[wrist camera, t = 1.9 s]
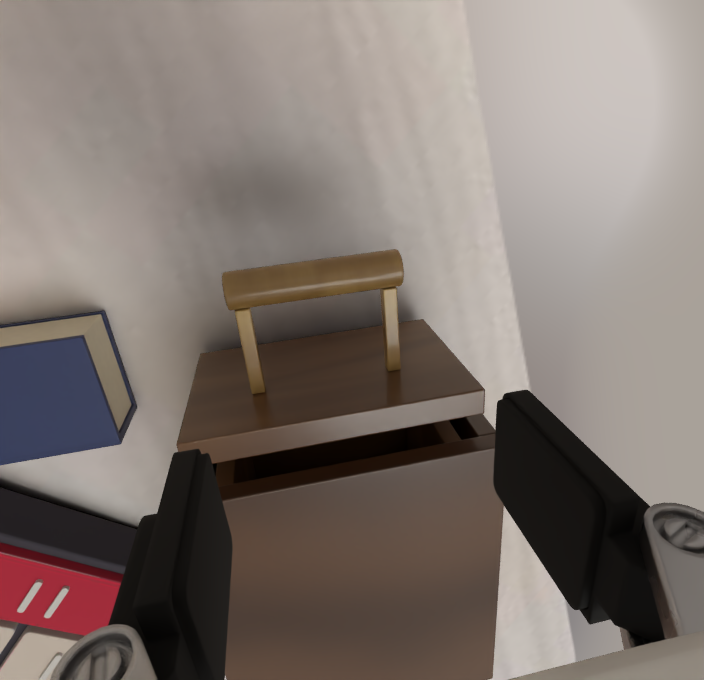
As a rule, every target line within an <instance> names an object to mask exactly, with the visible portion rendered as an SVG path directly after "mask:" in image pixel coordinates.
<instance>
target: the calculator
mask: <svg viewBox="0 0 704 680" xmlns="http://www.w3.org/2000/svg"><path fill="white" fill-rule="evenodd" d="M136 533H137V529H134V528H130V527H127V526H124V525H121V524H117V523H114V522H111V521H107V520H104V519H101V518H98V517H94V516H91V515H88V514H85V513H81V512H78V511H75V510H72V509H68V508H65V507H62V506H58V505H55V504H52V503H49V502H45V501H42V500H39V499H36V498H32V497H29V496H26V495H22V494H19V493H16V492H13V491H10V490H6V489H3V488H0V680H50V678H51V675H52V673H53V670H54V669H55V667H56V666H57V664H58V662H59V661H60V659H61V658H62V656H63V655H64V654H65V653H66V652H67V651H68V650H69V649H70V648H71V647H72V646H73V645H74V644H75V643H76V642H78V641H79V640H80V639H82V638H83V637H84V636H86V635H87V634H89V633H91V632H93V631H95V630H97V629H99V628H101V627H105V626H108V624H109V621H110V617H111V614H112V611H113V608H114V604H115V601H116V598H117V595H118V591H119V588H120V585H121V582H122V578H123V575H124V572H125V568H126V565H127V562H128V559H129V555H130V552H131V549H132V546H133V542H134V539H135V536H136Z"/></svg>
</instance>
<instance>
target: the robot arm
mask: <svg viewBox="0 0 704 680" xmlns="http://www.w3.org/2000/svg"><path fill="white" fill-rule="evenodd" d="M493 484H494V488H495V491H496V493H497V495H498V497H499V498H500V500H501V501H502V503H503V504H504V506H505V508H506V509H507V511H508V512H509V514H510V515H511V517H512V518H513V520H514V521H515V523H516V524H517V526H518V527H519V529H520V530H521V532H522V533H523V535H524V536H525V538H526V539H527V541H528V543H529V544H530V546H531V547H532V549H533V550H534V552H535V553H536V555H537V556H538V558H539V559H540V561H541V562H542V564H543V565H544V567H545V568H546V570H547V571H548V573H549V575H550V576H551V578H552V579H553V581H554V582H555V584H556V585H557V587H558V588H559V590H560V591H561V593H562V594H563V596H564V597H565V599H566V600H567V602H568V603H569V605H570V606H571V607H572V608H573V609H574V610H579V609H580V611H581V612H582V614H583V615H584V617H585V618H586V620H587V621H588V623H589V624H593V623H597V622H602V621H606V620H609V619H611V620H612V622H613V623H614V624H615V625H616V626H619V627H620V632H621V637H622V642H623V646H624V650H622V651H618V652H614V653H610V654H606V655H602V656H599V657H595V658H590V659H586V660H583V661H579V662H575V663H571V664H567V665H563V666H559V667H555V668H551V669H547V670H544V671H540V672H536V673H532V674H528V675H524V676H521V677H517V678H513V679H509V680H704V512H702V511H700V510H697V509H695V508H692V507H689V506H686V505H682V504H677V503H661V504H656V505H653V506H652V507H650V506H649V505H648V504H647V503H646V502H645V501H644V500H643V499H642V498H640V497H639V496H638V495H637V494H636V493H635V492H634V491H633V490H632V489H631V488H630V487H629V486H628V485H627V484H626V483H625V482H624V481H623V480H622V479H621V478H619V476H617V475H616V474H615V473H614V472H613V471H612V470H611V469H610V468H609V467H608V466H607V465H606V464H605V463H604V462H603V461H602V460H601V459H600V458H599V457H598V456H596V454H595V453H593V452H592V451H591V450H590V449H589V448H588V447H587V446H586V445H585V444H584V443H583V442H582V441H581V440H580V439H579V438H578V437H577V436H575V434H574V433H573V432H572V431H570V430H569V429H568V428H567V427H566V426H565V425H564V424H563V423H562V422H561V421H560V420H559V419H558V418H557V417H556V416H555V415H554V414H553V413H552V412H550V410H549V409H548V408H546V407H545V406H544V405H543V404H542V403H541V402H540V401H539V400H538V399H537V398H536V397H535V396H534V395H533V394H532V393H531V392H530V391H528V390H521V391H516V392H510V393H506V394H504V396H503V399H502V400H499V401H498V403H497V414H496V433H495V453H494V473H493ZM232 552H233V545H232V536H231V532H230V528H229V524H228V521H227V517H226V513H225V509H224V506H223V502H222V498H221V495H220V491H219V487H218V484H217V480H216V476H215V472H214V469H213V465H212V461H211V458H210V455H209V453H205V454H201V451H200V449H193V450H187V451H181V452H176V453H174V454H173V457H172V461H171V464H170V468H169V472H168V476H167V479H166V483H165V487H164V491H163V494H162V498H161V502H160V505H159V509H158V513H157V514H153V515H147V516H144V517H143V518H142V519H141V521H140V523H139V526H138V529H137V533H136V536H135V539H134V542H133V546H132V549H131V552H130V555H129V559H128V562H127V565H126V568H125V572H124V575H123V578H122V582H121V585H120V588H119V591H118V595H117V598H116V601H115V604H114V608H113V611H112V614H111V617H110V621H109V624H108V626H105V627H101V628H99V629H97V630H95V631H93V632H91V633H89V634H87V635H86V636H84V637H83V638H82V639H80V640H79V641H78V642H76V643H75V644H74V645H73V646H72V647H71V648H70V649H69V650H68V651H67V652H66V653H65V654H64V655H63V656H62V658H61V659H60V661H59V662H58V664H57V666H56V667H55V669H54V670H53V673H52V675H51V678H50V680H224V678H225V662H226V646H227V630H228V615H229V599H230V583H231V567H232Z"/></svg>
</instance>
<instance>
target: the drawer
mask: <svg viewBox="0 0 704 680" xmlns="http://www.w3.org/2000/svg"><path fill="white" fill-rule="evenodd" d="M403 277H404V271H403V263H402V258H401V255H400V253H399V251H398V250H396V249H393V250H385V251H378V252H370V253H363V254H355V255H348V256H340V257H333V258H325V259H318V260H311V261H303V262H296V263H288V264H281V265H273V266H266V267H258V268H251V269H244V270H236V271H229V272H224V273H223V274H222V285H223V291H224V297H225V301H226V305H227V307H228V309H229V310H235V316H236V321H237V326H238V331H239V335H240V340H241V345H242V347H240V348H234V349H227V350H221V351H214V352H208V353H201V354H200V357H199V361H198V365H197V369H196V372H195V376H194V380H193V384H192V388H191V391H190V395H189V399H188V403H187V407H186V410H185V414H184V418H183V422H182V425H181V429H180V433H179V437H178V441H177V449H178V452H181V451H187V450H193V449H200V451H201V454H205V453H209V455H210V458H211V461H212V464H214V463H217V468H216V480H217V484H218V487H219V486H224V485H229V484H234V483H240V482H245V481H250V480H255V479H261V478H266V477H271V476H276V475H281V474H287V473H292V472H297V471H302V470H308V469H313V468H318V467H323V466H328V465H334V464H339V463H344V462H349V461H355V460H360V459H365V458H370V457H376V456H381V455H386V454H391V453H396V452H402V451H407V450H412V449H417V448H423V447H428V446H433V445H438V444H443V443H449V442H454V441H459V440H461V438H460V437H459V435H458V434H457V432H456V431H455V429H454V428H453V426H452V425H451V423H450V422H449V420H452V419H458V418H463V417H468V416H474V415H479V414H483V413H484V401H485V389H484V388H483V387H482V386H481V385H480V383H479V382H478V381H477V380H476V379H475V378H474V377H473V375H472V374H471V373H470V372H469V371H468V370H467V369H466V368H465V366H464V365H463V364H462V363H461V362H460V361H459V360H458V358H457V357H456V356H455V355H454V354H453V353H452V352H451V350H450V349H449V348H448V347H447V346H446V345H445V344H444V342H443V341H442V340H441V339H440V338H439V337H438V336H437V334H436V333H435V332H434V331H433V330H432V329H431V328H430V326H429V325H428V324H427V323H426V322H425V321H424V320H423V319H421V320H414V321H408V322H401V323H398V303H397V288H396V287H395V286H400V285H402V283H403ZM375 289H380V296H381V311H382V326H375V327H369V328H363V329H356V330H350V331H343V332H337V333H330V334H324V335H317V336H311V337H304V338H298V339H292V340H285V341H279V342H272V343H266V344H259V345H258V344H257V339H256V334H255V328H254V323H253V318H252V313H251V308H250V307H257V306H264V305H271V304H278V303H285V302H292V301H299V300H305V299H312V298H319V297H326V296H333V295H340V294H347V293H354V292H361V291H368V290H375Z"/></svg>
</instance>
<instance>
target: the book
mask: <svg viewBox="0 0 704 680" xmlns="http://www.w3.org/2000/svg"><path fill="white" fill-rule="evenodd" d="M136 409H137V406H136V403H135V400H134V397H133V394H132V391H131V388H130V385H129V382H128V379H127V376H126V373H125V370H124V367H123V364H122V361H121V358H120V355H119V352H118V349H117V346H116V343H115V340H114V337H113V334H112V331H111V328H110V325H109V322H108V319H107V316H106V313H105V311H98V312H91V313H84V314H77V315H70V316H63V317H55V318H48V319H41V320H34V321H27V322H20V323H13V324H5V325H0V465H4V464H10V463H16V462H22V461H27V460H33V459H39V458H44V457H50V456H56V455H61V454H67V453H73V452H79V451H84V450H90V449H96V448H101V447H107V446H113V445H118V444H121V443H122V440H123V438H124V436H125V433H126V431H127V429H128V427H129V424H130V422H131V420H132V418H133V415H134V413H135V411H136Z"/></svg>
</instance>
